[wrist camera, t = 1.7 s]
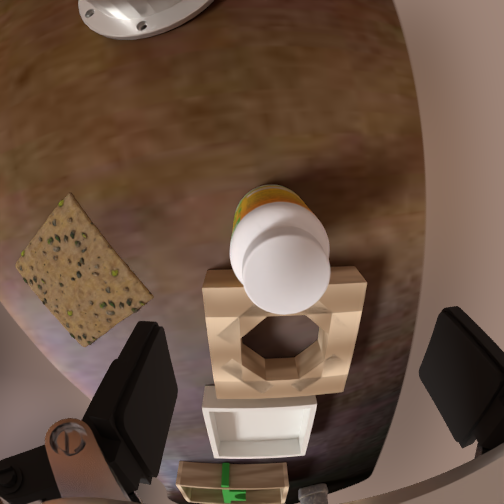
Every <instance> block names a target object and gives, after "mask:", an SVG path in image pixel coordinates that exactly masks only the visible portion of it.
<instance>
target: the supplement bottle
mask: <svg viewBox="0 0 504 504" xmlns="http://www.w3.org/2000/svg"><path fill="white" fill-rule="evenodd" d="M329 251H330V248H329V240H328V236H327V233H326V231H325V229H324V227H323V225H322V224H321V222H320V221H319V219H318V218H317V217H316V216H315V215H314V213H313V212H312V211H311V210H310V209H309V208H308V207H307V206H306V204H305V203H304V202H303V201H302V200H301V198H300V197H299V196H298V195H297V194H295V193H294V192H293V191H292V190H290V189H288V188H286V187H283V186H280V185H263V186H260V187H257V188H255V189H253V190H251V191H250V192H249V193H247V194H246V195H245V196H244V197H243V198H242V200H241V201H240V203H239V204H238V206H237V209H236V212H235V217H234V224H233V231H232V237H231V242H230V260H231V265H232V268H233V271H234V273H235V275H236V277H237V278H238V279H239V281H240V282H241V283H242V284H243V286H244V289H245V292H246V294H247V295H248V297H249V298H250V299H251V301H252V302H253V303H254V304H256V305H257V306H258V307H260V308H261V309H263V310H265V311H267V312H271V313H274V314H283V315H286V314H294V313H298V312H301V311H303V310H306V309H307V308H309V307H311V306H312V305H313V304H315V303H316V302H317V301H318V300H319V299H320V298H321V297H322V296H323V294H324V293H325V291H326V289H327V287H328V284H329V281H330V274H331V269H330V263H329Z"/></svg>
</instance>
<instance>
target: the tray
mask: <svg viewBox="0 0 504 504" xmlns="http://www.w3.org/2000/svg"><path fill="white" fill-rule="evenodd" d="M316 408H317V401H316V396H315V395H310V396H298V397H283V398H261V399H217V396H216V390H215V386H205V390H204V396H203V403H202V410H203V415H204V419H205V423H206V427H207V431H208V435H209V439H210V443H211V447H212V451H213V455H214V458H228V459H254V458H278V457H292V456H303V455H305V453H306V449H307V445H308V441H309V437H310V433H311V429H312V425H313V421H314V417H315V412H316Z"/></svg>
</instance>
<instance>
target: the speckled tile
mask: <svg viewBox="0 0 504 504" xmlns="http://www.w3.org/2000/svg"><path fill="white" fill-rule="evenodd" d="M16 268H17V270H18V271H19V273H20V274H21V275H22V277H23V280H24V281H25V282H26V283H27V284H28V285H29V286H30V288H31V289H32V290H33V291H34V292H35V293H36V295H37V296H38V297H39V299H40V300H41V301H42V302H43V304H45V306H46V307H47V308H48V309H49V310H50V312H51V313H52V314H53V315H54V316H55V317H56V318H57V319H58V320H59V321H60V323H61V324H62V325H63V326H64V328H65V329H66V330H68V332H69V333H70V335H71V336H72V337H73V338H74V339H76V340H77V341H78V343H79V344H81V345H82V346H83V347H86V346H88V345H91V344H92V343H93V342H94V341H95V340H97V339H98V338H99V337H100V336H102V335H103V334H105V333H107V331H108V330H110V329H111V328H113V327H114V326H115V325H116V324H117V323H119V322H120V321H122V320H124V318H126V317H128V316H130V315H131V314H133V313H136V312H137V311H138V309H139V308H140V307H142V306H143V305H145V304H146V303H147V302H148V301H149V300H151V299H153V297H154V296H153V295H152V294H151V293H150V292H149V291H148V289H147V288H146V287H145V286H144V285H143V283H142V282H141V281H140V280H139V279H138V278H137V276H136V275H135V274H134V273H133V272H132V271H131V270H130V268H129V267H128V265H127V264H126V263H125V262H124V261H123V260H122V259H121V258H120V257H119V256H118V254H117V253H116V252H115V250H114V249H113V248H112V247H111V246H110V245H109V243H108V242H107V240H106V239H105V238H104V237H103V235H102V234H101V233H100V232H99V230H98V228H97V227H96V226H95V225H94V224H93V223H92V222H91V220H90V219H89V217H88V216H87V215H86V213H85V211H84V210H83V209H82V208H81V206H80V205H79V204H78V202H77V201H76V200H75V198H74V196H73V195H72V194H71V193H69V194H68V195H67V196H66V197H65V198H64V199H63V200H61V201H60V202H59V203H58V206H57V207H56V209H55V210H54V211H53V213H51V214H50V215H49V217H48V219H47V221H46V222H45V223H44V224H43V226H42V227H41V228H40V229H39V231H38V232H37V234H36V235H35V236H34V237H33V239H32V240H31V241H30V243H29V244H28V246H27V248H26V249H25V250H23V251H22V253H21V256H20V258H19V259H18V260H17V262H16Z"/></svg>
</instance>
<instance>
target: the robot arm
mask: <svg viewBox="0 0 504 504" xmlns="http://www.w3.org/2000/svg"><path fill="white" fill-rule="evenodd" d="M213 1H214V0H79V1H78V7H79V12H80V15H81V17H82V19H83V21H84V23H85V24H86V25H87V26H88V27H89V28H90V29H92V30H93V31H95V32H97V33H98V34H100V35H103V36H105V37H108V38H113V39H119V40H135V39H141V38H147V37H151V36H154V35H158V34H161V33H164V32H167V31H169V30H171V29H174V28H176V27H178V26H180V25H182V24H184V23H185V22H187V21H189V20H191V19H192V18H194V17H195V16H197V15H198V14H199V13H201V12H202V11H203V10H205V9H206V8H207V7H208V6H209V5H210V4H211V3H212V2H213ZM145 27H146V28H145ZM144 28H145V29H144ZM143 29H144V30H143ZM419 377H420V379H421V381H422V383H423V384H424V386H425V388H426V389H427V391H428V393H429V394H430V396H431V397H432V399H433V401H434V403H435V405H436V406H437V408H438V410H439V412H440V413H441V415H442V417H443V419H444V421H445V422H446V424H447V426H448V428H449V430H450V432H451V433H452V435H453V437H454V439H455V440H456V441H457V442H459V444H460V445H461V447H462V448H464V447H466V446H468V445H471V444H473V443H474V441H475V440H476V439H477V441H478V444H477V449H476V454H475V459H473V460H471V461H469V462H467V463H465V464H463V465H461V466H459V467H456V468H454V469H452V470H450V471H447V472H445V473H443V474H440V475H438V476H435V477H433V478H430V479H427V480H425V481H422V482H419V483H416V484H414V485H411V486H408V487H405V488H401V489H398V490H395V491H392V492H388V493H385V494H381V495H377V496H373V497H369V498H365V499H361V500H357V501H352V502H347V503H341V504H504V352H503V351H502V350H501V349H500V348H499V347H498V346H497V344H496V343H495V342H493V340H492V339H491V338H490V337H489V336H488V335H487V334H486V333H485V332H484V331H483V330H482V329H481V328H480V327H479V326H478V325H477V324H476V323H475V322H474V321H473V320H472V319H471V318H470V317H469V316H468V315H467V314H466V313H465V312H464V311H463V310H462V309H461V308H459V307H458V306H456V307H455V306H454V307H448V308H444V309H443V310H442V312H441V313H440V314H439V316H438V318H437V322H436V324H435V328H434V331H433V334H432V337H431V340H430V343H429V345H428V348H427V351H426V353H425V356H424V359H423V361H422V364H421V366H420V369H419ZM177 393H178V388H177V383H176V379H175V375H174V371H173V367H172V363H171V359H170V354H169V350H168V345H167V341H166V336H165V331H164V328H163V327H160V326H158V323H157V322H150V321H139V322H138V323H137V325H136V326H135V328H134V330H133V332H132V334H131V335H130V337H129V339H128V341H127V342H126V344H125V346H124V348H123V350H122V351H121V353H120V355H119V357H118V359H115V360H114V361H113V362H112V363H111V365H110V367H109V369H108V371H107V373H106V374H105V376H104V378H103V380H102V382H101V384H100V386H99V387H98V389H97V391H96V393H95V395H94V397H93V399H92V401H91V403H90V405H89V407H88V409H87V411H86V413H85V415H84V417H83V419H82V420H79V419H73V418H67V419H62V420H60V421H58V422H56V423H54V424H53V425H52V426H51V427H50V428H49V429H48V431H47V433H46V436H45V445H43V446H40V447H37V448H34V449H32V450H29V451H26V452H23V453H20V454H17V455H15V456H11V457H9V458H5V459H3V460H1V461H0V504H144V503H143V502H142V500H141V499H140V497H139V496H138V494H137V493H136V490H138V486H139V483H144V484H149V485H150V484H151V480H152V477H157V476H158V473H159V469H160V465H161V460H162V456H163V452H164V448H165V443H166V439H167V435H168V431H169V427H170V423H171V419H172V415H173V411H174V407H175V403H176V399H177Z"/></svg>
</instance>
